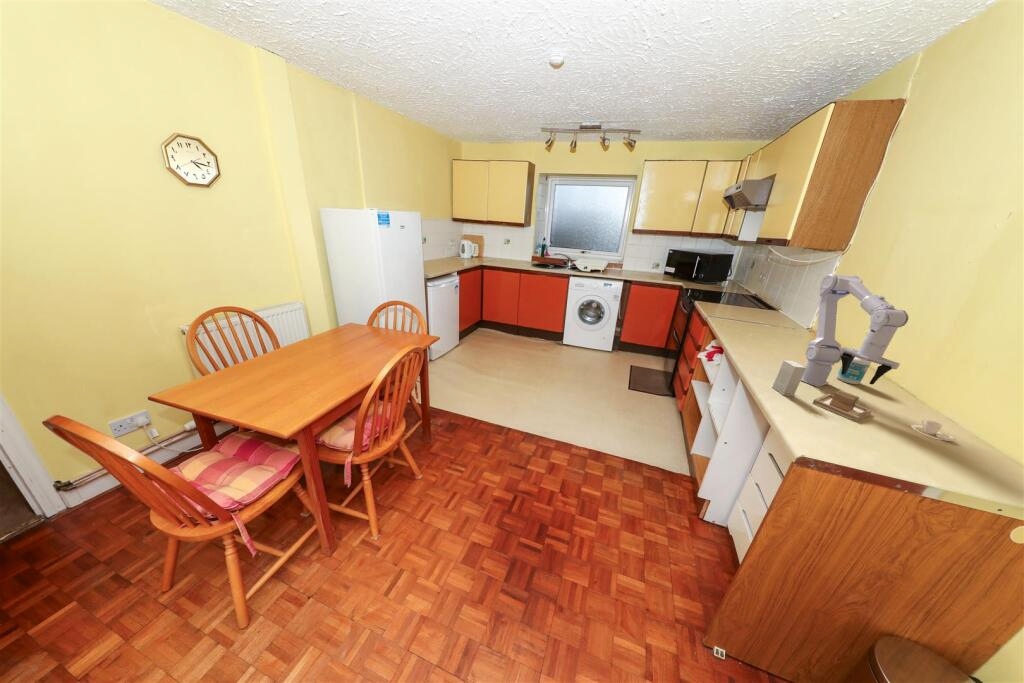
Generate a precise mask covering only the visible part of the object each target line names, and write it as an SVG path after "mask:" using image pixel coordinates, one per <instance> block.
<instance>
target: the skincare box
mask: <svg viewBox="0 0 1024 683" xmlns="http://www.w3.org/2000/svg"><path fill="white" fill-rule="evenodd" d="M805 370H806V367H805V366H803V365H802V364H800V363H798V362H796V361H795V360H785V359H784V360H783V361H782V363H781V366H780V368H779V370H778V373H777V375H776V377H775V379H774V382H773V384H772V387H771V388H772V389H774V390H775V391H776V392H778V393H780V394H781V395H782V396H789V397H794V396H795V395H796V392H797V390H798V387H799V386H800V383H801V382H802V381H801V379H802V376H803V374H804V372H805Z"/></svg>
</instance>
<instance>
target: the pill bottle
mask: <svg viewBox="0 0 1024 683" xmlns="http://www.w3.org/2000/svg"><path fill="white" fill-rule="evenodd" d="M856 350H857V351H859V350H860V349H856ZM871 364H872V362H870V361H867V360H864V359H860V358H857V357H855V358H854V359H853V361H852V362H851V364H850V366H849V368H848V371H847V372H846V374H844V375H842V374H841V372H842V365H841V367H840V368H839V371H838V372H837V374H836V378H837V380H839V381H841V382H843V383H847V384H850V385H860V383H861V382H862V380H864V377H865V375H866V373H867V371H868V369H869V368H870V366H871Z"/></svg>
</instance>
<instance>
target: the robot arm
mask: <svg viewBox="0 0 1024 683" xmlns="http://www.w3.org/2000/svg"><path fill="white" fill-rule="evenodd" d="M818 293H819V294H818V295H819V297H818V298H819V299H818V301H819V302H818V312H817V313H818V314H817V324H816V325H817V326H816V337H815V339H813V340H811V341H809V342H808V344H807V348H806V350H805V358H806V360H807V362H806V364H805V366H804V367H806V370H805V372H804V374H803V376H802V379H801V381H800V382H804V383H805V384H810V385H811V386H814V387H817V388H820V387H822V386H826V385H828V384H829V383H830V382H829V381H827V380H828V378H829V376H830V374H831V372H832V370H833V367H832V366H835V364H838V363H840V362H841V366H842V372H841V374H842V375H844V374H846V372H847V371H848V368H849V366H850V364H851V362H852V361H853V359H854V358H855V357H857V358H860V359H864V360H867V361H870V362H871V363H874V364H877V365H878V366H877V368H876V371H875V373H874V375H873V377H872V378H871V380H870V381H869V385H875V383H876V382H877V381H878V380H879V379H880V378H881V377H883V376H884V375H885V374H886V373H888V372H890V371H891V370H897V369H899V366H900V365H901V363H900V362H897V361H893V360H891V359H887V358H885V357H883V356H884V354H885V352H886V350H887V349H888V347H889V345H890V343H891V342H892V339H893V338H894V335H895V334H896V332H897V330H898V328H902V327H904V326H905V325H907V323H908V322H909V314H908V312H907V311H906V310H903V309H897V308H895V305H893V304H890V303H889V302H888V301H887V300H886V297H885V296H884V295H878V294H872V292H871V291H870V290H869V288H867V287H866V286H865V285H864V284H863V279H862V278H860V277H859V276H858V275H846V274H835V273H829V274H826V275H825V276H824V277H823V278H822V279H821V281H820V283H819V292H818ZM849 295H852V296H853V297H854V298H856V299H857V300H859V301H860V308H861V309H862V310H863V311H865V312H866V314H868V315H869V316H870V318H869V320H870V324H869V326H868V327H869V330H868V333H867V334H866V336H865V337H864V338H865V339H864V340H863V342H862V344H861V346H860V348H859V349H853V348H848V347H844V346H843V347H842V344H841V343H839V341H837V339H836V327H837V314H838V313H837V312H838V301H840V300H841V299H843V298H845V297H847V296H849ZM857 350H859V351H857Z"/></svg>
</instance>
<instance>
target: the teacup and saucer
mask: <svg viewBox="0 0 1024 683" xmlns="http://www.w3.org/2000/svg"><path fill="white" fill-rule="evenodd" d="M924 422H926V423H925V425H924ZM910 426H911V428H912V430H914V431H915V432H917V433H919V434H921V435H924V436H926V437H928V438H931V439H936V440H939V441H947V442H955V441H956V438H955V437H954V436H953V435H949V434H945V433H942V432H940V430H941V429H942V428H943V426H944V425H943V424H941V423H940V422H937V421H935V420H930V419H928V420H926V419H924V420H923V419H922V421H921V425H919V424H912V425H910ZM917 428H923V431H924V432H925V433H923V432H921V431H920V430H918V429H917ZM930 435H933V436H930Z"/></svg>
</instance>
